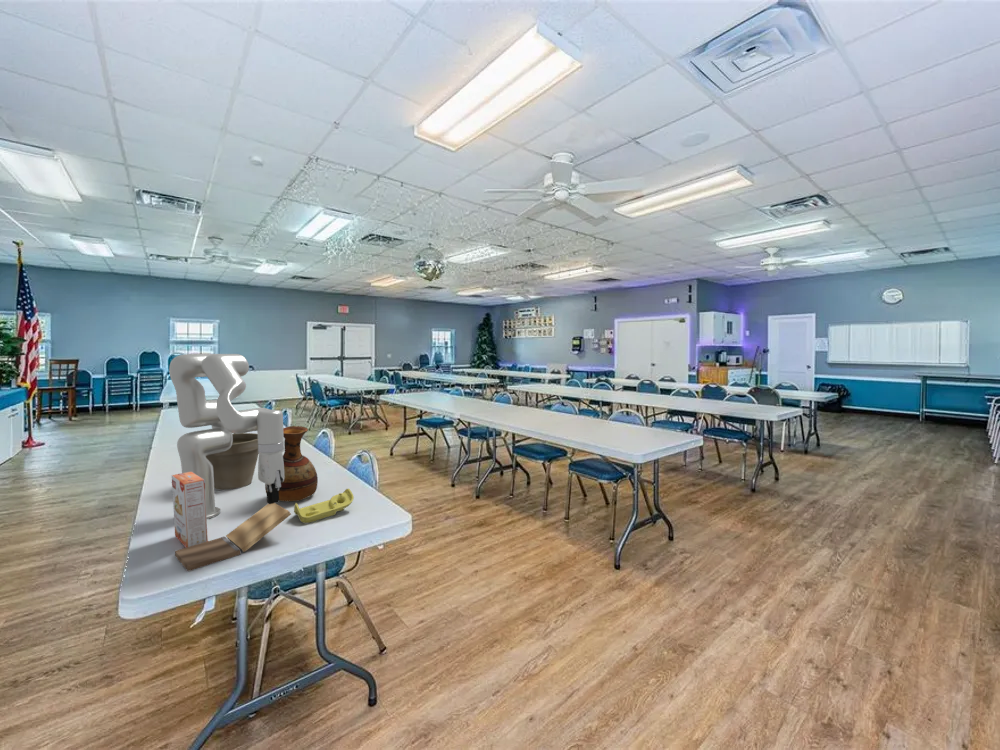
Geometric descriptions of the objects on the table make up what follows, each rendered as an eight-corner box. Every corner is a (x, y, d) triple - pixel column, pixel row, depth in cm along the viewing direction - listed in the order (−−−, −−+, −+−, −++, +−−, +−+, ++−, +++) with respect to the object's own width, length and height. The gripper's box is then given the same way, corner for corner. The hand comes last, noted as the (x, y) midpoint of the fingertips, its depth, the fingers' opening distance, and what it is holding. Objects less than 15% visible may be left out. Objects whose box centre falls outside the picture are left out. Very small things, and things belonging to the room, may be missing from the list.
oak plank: (244, 552, 129) (241, 548, 128) (228, 539, 138) (225, 535, 137) (291, 514, 139) (288, 511, 138) (273, 504, 148) (271, 501, 147)
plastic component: (302, 519, 149) (293, 500, 155) (301, 534, 152) (293, 515, 158) (357, 502, 162) (347, 485, 168) (356, 516, 165) (346, 499, 171)
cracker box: (173, 537, 140) (170, 474, 139) (195, 531, 144) (192, 470, 143) (185, 550, 131) (182, 483, 130) (208, 543, 135) (205, 478, 134)
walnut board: (175, 555, 127) (174, 550, 127) (224, 541, 137) (224, 536, 137) (187, 571, 118) (187, 565, 118) (240, 554, 128) (240, 549, 128)
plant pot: (228, 496, 179) (226, 445, 178) (185, 491, 186) (183, 442, 185) (276, 479, 202) (274, 434, 201) (236, 475, 210) (235, 431, 209)
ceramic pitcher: (269, 510, 164) (267, 433, 162) (262, 496, 180) (259, 425, 178) (323, 499, 175) (321, 427, 173) (311, 487, 191) (310, 421, 190)
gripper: (250, 446, 142) (252, 500, 143) (268, 453, 132) (270, 511, 133) (273, 442, 148) (275, 494, 149) (292, 449, 138) (294, 504, 139)
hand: (273, 502), depth 141 cm, fingers closed
